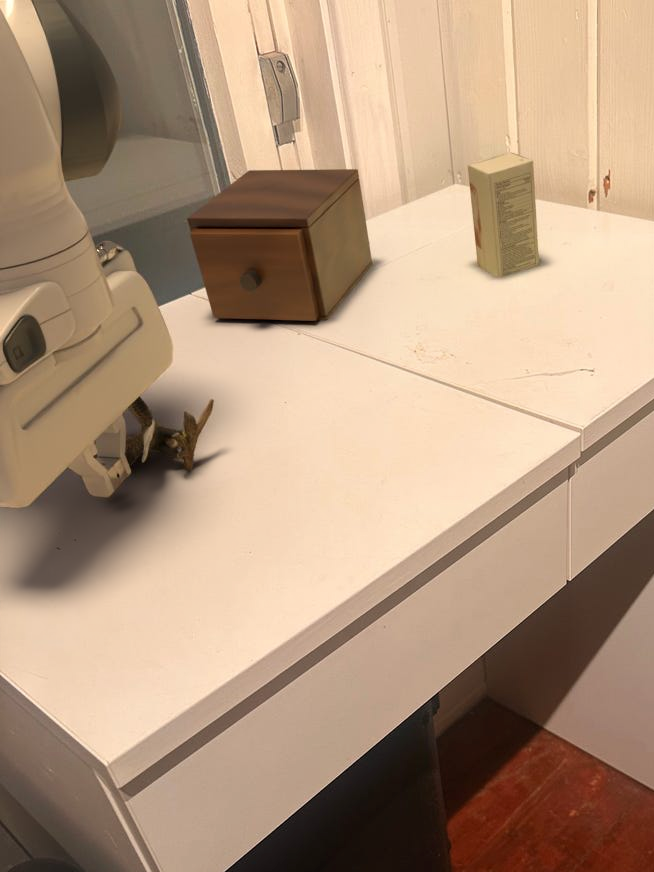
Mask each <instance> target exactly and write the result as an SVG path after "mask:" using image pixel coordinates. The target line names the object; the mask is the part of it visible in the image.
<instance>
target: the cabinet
mask: <svg viewBox="0 0 654 872" xmlns="http://www.w3.org/2000/svg"><path fill="white" fill-rule="evenodd" d="M186 220H187V223H188V227H189V231H190V233H191V232H192V231H194V230H195V229H211V228H210V227H301V229H302V231H303V236H304V241H305V246H306V251H307V256H308V260H309V265H310V270H311V275H312V280H313V285H314V290H315V295H316V300H317V305H318V310H319V317H318V318H317V319H316V321H328V320H329V319H330V317H331V316H332V315H333V314H334V313H335V311H336V310H337V309H338V308H339V306H340V305H341V304H342V303H343V301H345V299H346V298H347V296H348V295H349V294H350V293H351V292H352V290H353V289H354V288H355V286H357V284H358V283H359V282H360V280H361V279H362V278H363V277H364V275H366V273H367V272H368V270H369V269H370V268H371V267H372V266H373V259H372V252H371V246H370V239H369V233H368V226H367V221H366V213H365V206H364V200H363V192H362V187H361V181H360V174H359V169H357V168H347V169H346V168H345V169H344V168H341V169H340V168H339V169H338V168H337V169H335V168H333V169H253V170H252V169H251V170H248V171H246V172H245V173H244V174H242V175H241V176H240V177H238V178H237V179H236V180H235V181H234V182H232V183H231V184H229V185H228V186H226V188H224V189H223V190H222V191H220V192H219V193H218V194H217V195H215V196H214V197H213V198H211V199H210V200H208V201H207V202H206V203H204V204H203V205H202V206H201V207H199V208H198V209H197V210H195V211H194V212H193V213H192V214H190V215H188V216H187V218H186Z"/></svg>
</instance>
